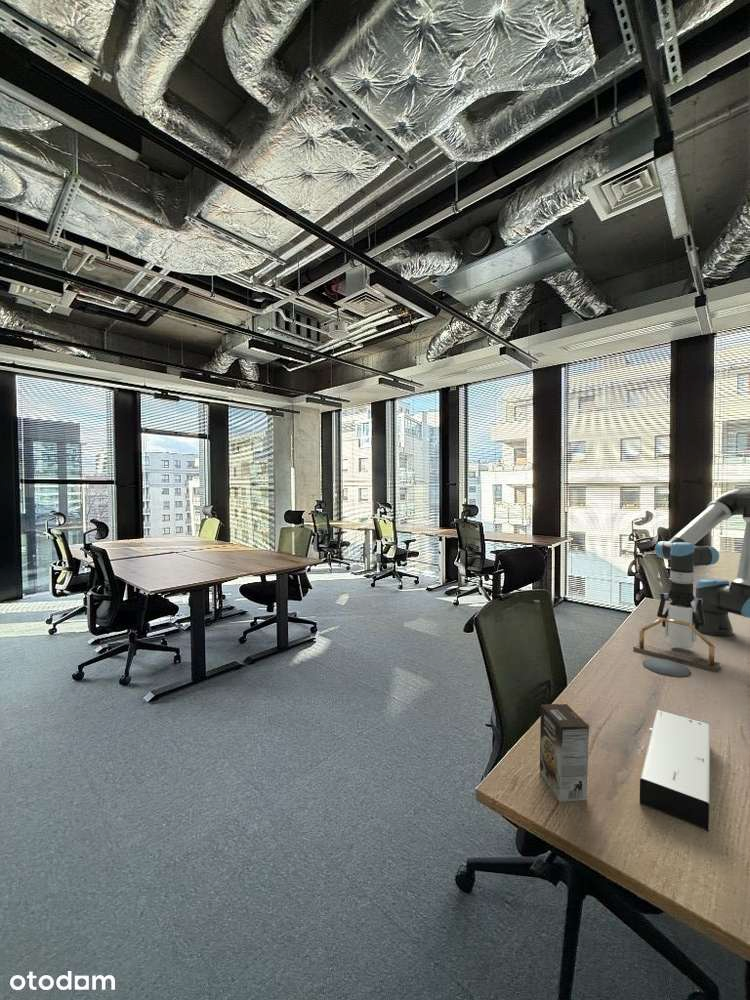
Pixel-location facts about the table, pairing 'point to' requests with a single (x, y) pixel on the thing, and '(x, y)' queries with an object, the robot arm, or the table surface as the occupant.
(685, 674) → the mat
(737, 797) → the table surface
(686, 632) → the cup
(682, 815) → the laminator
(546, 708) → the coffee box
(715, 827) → the table surface
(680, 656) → the buzz wire
